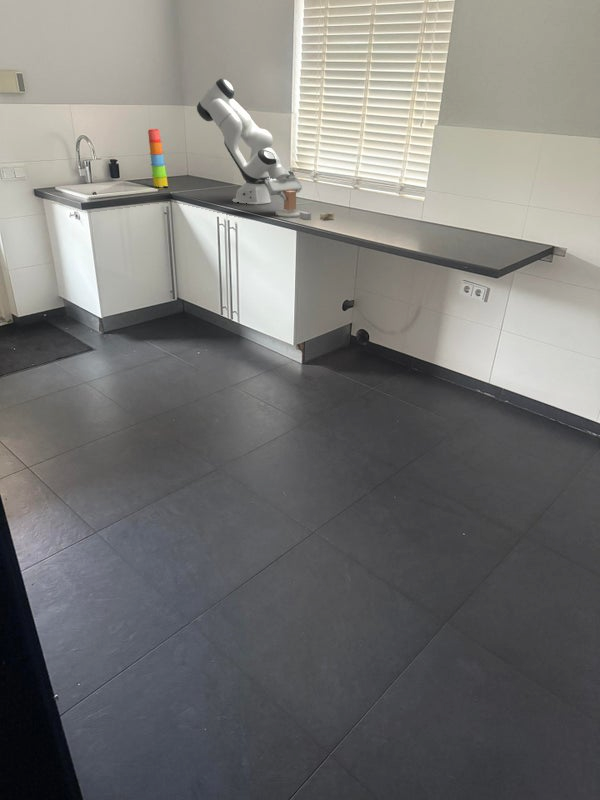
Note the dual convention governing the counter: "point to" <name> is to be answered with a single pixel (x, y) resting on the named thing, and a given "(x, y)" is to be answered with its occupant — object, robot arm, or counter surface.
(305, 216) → the grey brick
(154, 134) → the stacking cups
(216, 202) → the counter surface
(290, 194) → the orange cylinder
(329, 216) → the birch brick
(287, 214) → the cream plate
